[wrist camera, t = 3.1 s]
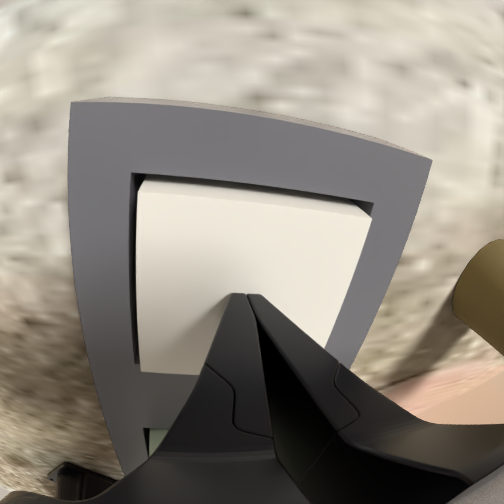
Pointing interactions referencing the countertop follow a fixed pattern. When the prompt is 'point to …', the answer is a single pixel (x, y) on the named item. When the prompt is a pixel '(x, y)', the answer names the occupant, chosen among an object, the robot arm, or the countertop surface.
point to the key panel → (218, 168)
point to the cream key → (236, 261)
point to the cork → (483, 294)
